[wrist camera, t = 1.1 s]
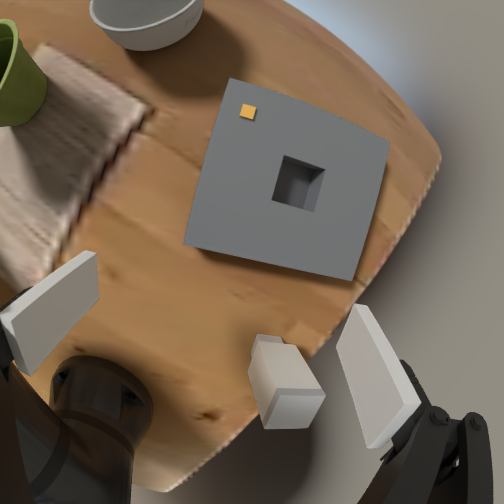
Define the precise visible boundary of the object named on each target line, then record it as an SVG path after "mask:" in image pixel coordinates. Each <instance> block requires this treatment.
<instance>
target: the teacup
mask: <svg viewBox="0 0 504 504" xmlns="http://www.w3.org/2000/svg"><path fill="white" fill-rule="evenodd" d="M203 6H204V0H91V3H90V15H91V17H92V19H93V21H94V22H95V23H96V24H97V25H98V26H99V27H101V28H102V30H103V31H104V32H105V33H106V34H107V35H108V36H109V37H110V38H111V39H112V40H113V41H114V42H115V43H117V44H118V45H120V46H122V47H124V48H126V49H130V50H135V51H150V50H156V49H160V48H163V47H166V46H169V45H171V44H173V43H175V42H177V41H179V40H180V39H182V38H183V37H185V36H186V35H187V34H188V33H189V32H190V31H191V30H192V29H193V28H194V27H195V25H196V24H197V22H198V21H199V19H200V17H201V14H202V11H203Z"/></svg>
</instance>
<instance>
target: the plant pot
mask: <svg viewBox="0 0 504 504" xmlns="http://www.w3.org/2000/svg"><path fill="white" fill-rule="evenodd" d="M46 93H47V79H46V77H45V74H44V73H43V72H42V70H41V69H40V68H39V67H38V65H37V64H36V63H35V62H34V60H33V59H32V58H31V56H30V55H29V54H28V53H27V51H26V50H25V49H24V47H23V44H22V42H21V40H20V39H19V33H18V28H17V26H16V24H15V23H14V22H13V21H12V20H9V19H0V127H5V126H19V125H22V124H24V123H26V122H28V121H29V120H30V119H31V118H32V117H33V115H34V114H35V113H36V112H37V111H38V110H39V109H40V107H41V106H42V104H43V101H44V99H45V96H46Z"/></svg>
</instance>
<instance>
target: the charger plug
mask: <svg viewBox="0 0 504 504" xmlns="http://www.w3.org/2000/svg"><path fill="white" fill-rule="evenodd" d="M251 357H252V360H251V363H250V366H249V369H248V372H247V373H248V377H249V380H250V383H251V387H252V390H253V394H254V397H255V400H256V403H257V407H258V410H259V413H260V416H261V420H262V423H263V426H264V429H293V428H308V427H309V425H310V423H311V422H312V420H313V418H314V416H315V415H316V413H317V411H318V409H319V407H320V406H321V404H322V402H323V400H324V398H325V397H326V395H325V393H324V391H323V390H322V388H321V386H320V385H319V383H318V382H317V380H316V378H315V377H314V375H313V373H312V372H311V370H310V368H309V367H308V365H307V363H306V362H305V360H304V359H303V357H302V355H301V354H300V352H299V350H298V349H297V347H296V345H291V344H284V343H283V341H282V339H281V337H279V336H271V335H264V334H257V335H256V338H255V341H254V344H253V347H252V351H251Z"/></svg>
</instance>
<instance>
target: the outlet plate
mask: <svg viewBox="0 0 504 504" xmlns="http://www.w3.org/2000/svg"><path fill="white" fill-rule="evenodd" d="M389 146H390V142H389V141H387V140H385V139H384V138H382V137H380V136H378V135H376V134H374V133H372V132H370V131H368V130H366V129H364V128H362V127H360V126H358V125H356V124H354V123H352V122H350V121H348V120H346V119H343V118H341V117H339V116H337V115H335V114H332V113H330V112H328V111H325V110H323V109H321V108H318V107H316V106H313V105H311V104H308V103H306V102H303V101H301V100H298V99H295V98H292V97H290V96H287V95H284V94H281V93H278V92H276V91H273V90H270V89H266V88H263V87H260V86H257V85H254V84H250V83H247V82H244V81H240V80H236V79H233V78H230V79H229V82H228V85H227V87H226V90H225V93H224V96H223V99H222V103H221V106H220V109H219V112H218V115H217V118H216V121H215V125H214V128H213V131H212V134H211V138H210V141H209V145H208V148H207V152H206V155H205V159H204V162H203V166H202V169H201V173H200V177H199V181H198V184H197V188H196V192H195V196H194V200H193V204H192V208H191V212H190V216H189V220H188V225H187V229H186V233H185V238H184V242H183V245H188V246H192V247H197V248H201V249H206V250H210V251H215V252H219V253H224V254H228V255H233V256H237V257H242V258H246V259H251V260H256V261H260V262H265V263H269V264H274V265H278V266H283V267H288V268H292V269H297V270H302V271H306V272H311V273H316V274H320V275H325V276H330V277H334V278H339V279H344V280H348V281H352V279H353V276H354V273H355V270H356V268H357V265H358V262H359V259H360V255H361V252H362V249H363V246H364V243H365V240H366V236H367V233H368V230H369V226H370V223H371V219H372V216H373V212H374V209H375V205H376V201H377V197H378V194H379V190H380V186H381V182H382V177H383V173H384V169H385V164H386V160H387V155H388V151H389Z"/></svg>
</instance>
